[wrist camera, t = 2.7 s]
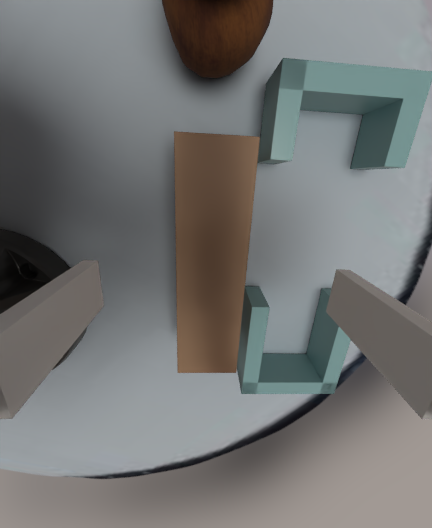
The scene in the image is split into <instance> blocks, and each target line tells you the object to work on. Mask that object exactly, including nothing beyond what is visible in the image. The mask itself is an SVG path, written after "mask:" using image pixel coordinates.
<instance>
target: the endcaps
mask: <svg viewBox="0 0 432 528" xmlns="http://www.w3.org/2000/svg"><path fill="white" fill-rule="evenodd" d="M431 82H432V71H421V70H410V69H399V68H388V67H377V66H366V65H355V64H344V63H333V62H322V61H311V60H300V59H289V58H283V59H282V60H281V62H280V63H279V65H278V66H277V68H276V70H275V71H274V73H273V74H272V76H271V77H270V79H269V80H268V82H267V83H266V90H265V100H264V109H263V118H262V128H261V137H260V146H259V156H258V163H267V164H278V163H283V162H288V161H292V158H293V152H294V145H295V139H296V132H297V126H298V119H299V113H300V110H308V111H321V112H335V113H348V114H361V115H363V118H362V122H361V126H360V130H359V134H358V139H357V143H356V147H355V151H354V155H353V160H352V164H351V168H350V169H365V170H370V169H389V168H405V165H406V162H407V159H408V155H409V152H410V149H411V146H412V143H413V139H414V136H415V133H416V130H417V127H418V123H419V120H420V117H421V114H422V111H423V108H424V104H425V101H426V98H427V95H428V92H429V88H430V85H431ZM330 293H331V289H323V288H322V290H321V294H320V299H319V303H318V307H317V311H316V315H315V320H314V324H313V328H312V332H311V336H310V341H309V345H308V349H307V353H306V354H262V353H263V346H264V340H265V333H266V327H267V320H268V314H269V308H270V307H269V305H268V303H267V301H266V299H265V297H264V295H263V293H262V291H261V289H260V287H250V286H245V290H244V300H243V310H242V320H241V330H240V339H239V349H238V359H237V371H238V376H239V382H240V388H241V394H334V392H335V388H336V385H337V382H338V379H339V376H340V372H341V369H342V366H343V363H344V360H345V356H346V353H347V350H348V347H349V344H350V341H351V339H350V338H349V337H348V336H347V335H346V334H345V333H344V331H343V330H342V329H341V328H340V327H339V326H338V325H337V324H336V323H335V321H334V320H333V319H332V318H331V317H330V316H329V315H328V314H327V312H326V309H327V305H328V301H329V297H330Z"/></svg>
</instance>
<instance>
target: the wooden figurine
mask: <svg viewBox="0 0 432 528" xmlns="http://www.w3.org/2000/svg"><path fill="white" fill-rule="evenodd" d="M162 4H163V7H164V11H165V15H166V19H167V22H168V25H169V29H170V32H171V35H172V38H173V41H174V43H175V46H176V48H177V50H178V52H179V55H180V57H181V59H182V61H183V63H184V64H185V66H186V67H188V68H189V69H190V70H192V71H193V72H195V73H196V74H198V75H199V76H201V77H209V78H219V77H223V76H226V75H230V74H232V73H233V72H234V71H236V70H237V69H238V68H240V67H241V66H242V65H244V64H245V63H246V62H248V61H249V60H250V58H251V57H252V56H253V55H254V53H255V51H256V49H257V47H258V46H259V44H260V42H261V40H262V38H263V36H264V35H265V33H266V30H267V28H268V26H269V23H270V19H271V15H272V9H273V0H162Z"/></svg>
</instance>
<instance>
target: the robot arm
mask: <svg viewBox="0 0 432 528" xmlns="http://www.w3.org/2000/svg"><path fill="white" fill-rule="evenodd" d="M103 306H104V303H103V295H102V288H101V280H100V272H99V265H98V261H94V260H83V261H81V262H80V263H78V264H76V265H75V266H73V267H72V268H69V267H68V266H67V265H66V264H65V263H64V262H63V261H62V260H61V259H60V258H59V257H58V256H57V255H55V254H54V253H53V252H52V251H50V250H49V249H47V248H46V247H44V246H43V245H41V244H39V243H38V242H36V241H34V240H32V239H30V238H28V237H25V236H23V235H20V234H17V233H14V232H11V231H7V230H2V229H0V419H12V418H13V417H14V416H15V414H16V413H17V412H18V411H19V410H20V408H21V407H22V406H23V405H24V403H25V402H26V401H27V400H28V398H29V397H30V396H31V395H32V394H33V392H34V391H35V390H36V389H37V387H38V386H39V385H40V384H41V383H42V381H43V380H44V379H45V378H46V376H47V375H48V374H49V373H50V371H51V370H53V369H54V368H56V367H57V366H59V365H60V364H61V363H62V362H63V361H64V360H65V359H66V358H67V357H68V356H69V355H70V354H71V352H72V351H73V350H74V348H75V347H76V346H77V345H78V343H79V342H80V341H81V339H82V337H83V336H84V334H85V331H86V329H87V326H88V325H89V324H90V322H91V321H92V320H93V319H94V317H95V316H96V315H97V314H98V312H99V311H100V310H101V309H102V308H103ZM326 312H327V314H328V315H329V316H330V317H331V318H332V319H333V320H334V321H335V323H336V324H337V325H338V326H339V327H340V328H341V329H342V330H343V331H344V333H345V334H346V335H347V336H348V337H349V338H350V339H351V340H352V341H353V343H354V344H355V345H356V346H357V347H358V348H359V349H360V350H361V352H362V353H363V354H364V355H365V356H366V357H367V358H368V359H369V360H370V362H372V364H373V365H374V366H375V367H376V368H377V369H378V370H379V371H380V373H381V374H382V375H383V376H384V377H385V378H386V379H387V381H389V383H390V384H391V385H392V386H393V387H394V388H395V390H396V391H397V392H398V393H399V394H400V395H401V396H402V397H403V398H404V400H405V401H406V402H407V403H408V404H409V405H410V406H411V407H412V409H413V410H414V411H415V412H416V413H417V414H418V415H419V416H420V417H421V419H432V322H431V321H429V320H427V319H426V318H424V317H422V316H421V315H420V314H418V313H416V312H415V311H413V310H412V309H410V308H409V307H407V306H406V305H404V304H402V303H401V302H399V301H398V300H396V299H395V298H393V297H391V296H390V295H388V294H387V293H385V292H384V291H382V290H380V289H379V288H377V287H376V286H374V285H373V284H371V283H369V282H368V281H366V280H365V279H363V278H362V277H360V276H358V275H357V274H355V273H354V272H352V271H351V270H339V269H336V273H335V277H334V281H333V285H332V289H331V293H330V297H329V301H328V305H327V309H326Z"/></svg>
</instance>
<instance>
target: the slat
mask: <svg viewBox="0 0 432 528" xmlns="http://www.w3.org/2000/svg"><path fill="white" fill-rule="evenodd" d="M259 141H260V137H254V136H238V135H221V134H205V133H189V132H174V154H175V222H176V290H177V358H178V373H236V369H237V359H238V349H239V339H240V330H241V320H242V310H243V300H244V290H245V280H246V270H247V260H248V250H249V240H250V230H251V220H252V210H253V200H254V190H255V180H256V170H257V160H258V151H259Z"/></svg>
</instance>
